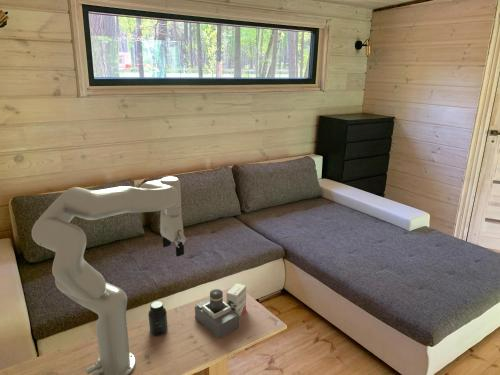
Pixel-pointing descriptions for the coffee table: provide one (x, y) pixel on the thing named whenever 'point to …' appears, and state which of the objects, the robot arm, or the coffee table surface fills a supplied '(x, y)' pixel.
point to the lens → (216, 300)
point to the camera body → (217, 318)
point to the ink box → (237, 298)
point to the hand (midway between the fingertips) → (173, 250)
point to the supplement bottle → (157, 318)
